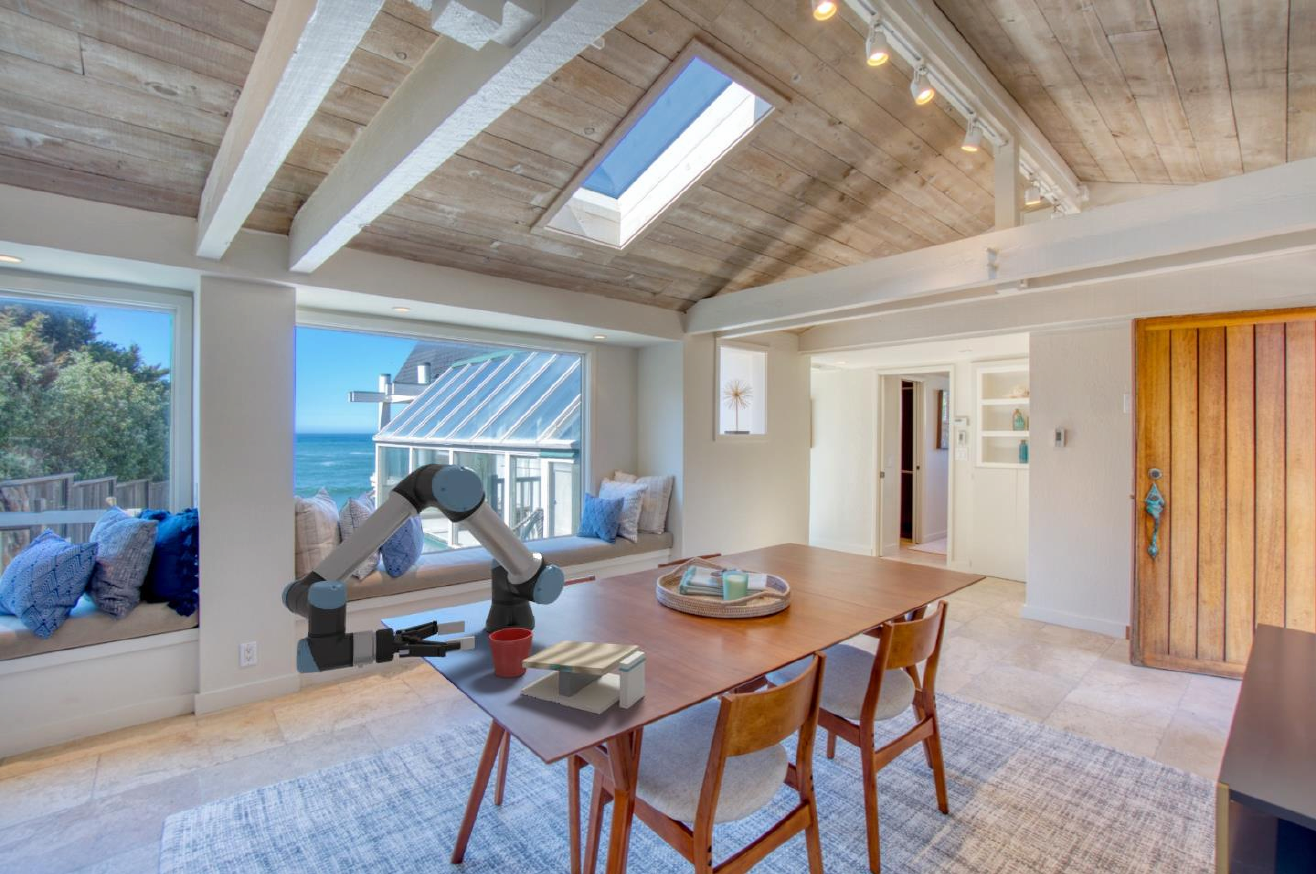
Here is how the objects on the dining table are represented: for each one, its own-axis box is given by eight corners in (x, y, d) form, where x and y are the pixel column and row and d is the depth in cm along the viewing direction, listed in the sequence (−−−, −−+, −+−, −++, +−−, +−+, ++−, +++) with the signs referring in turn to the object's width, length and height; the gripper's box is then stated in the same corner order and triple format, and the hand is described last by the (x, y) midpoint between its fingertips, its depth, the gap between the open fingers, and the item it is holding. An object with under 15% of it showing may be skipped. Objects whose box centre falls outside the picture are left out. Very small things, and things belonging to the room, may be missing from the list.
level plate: (521, 667, 141) (521, 661, 141) (563, 646, 155) (562, 640, 155) (603, 676, 130) (602, 669, 130) (639, 652, 144) (639, 645, 144)
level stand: (520, 693, 140) (521, 651, 140) (566, 667, 156) (566, 629, 156) (615, 718, 128) (615, 672, 128) (655, 687, 144) (655, 645, 144)
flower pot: (493, 664, 158) (493, 627, 158) (535, 663, 159) (535, 626, 159) (484, 681, 147) (484, 641, 147) (529, 679, 148) (529, 640, 148)
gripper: (372, 646, 149) (460, 634, 159) (376, 682, 127) (478, 666, 137) (372, 616, 149) (461, 606, 159) (377, 647, 127) (479, 633, 137)
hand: (469, 634), depth 148 cm, fingers open, 13 cm apart
